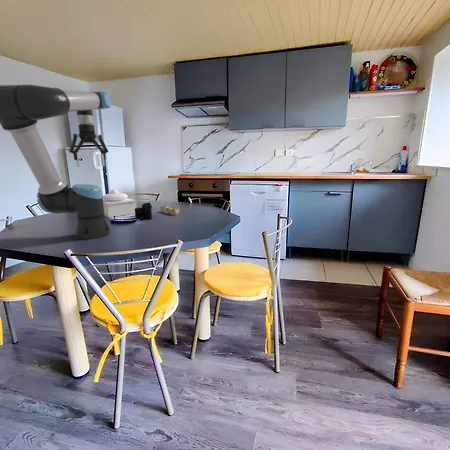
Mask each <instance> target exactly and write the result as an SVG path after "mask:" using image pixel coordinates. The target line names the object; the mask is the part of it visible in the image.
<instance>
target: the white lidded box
mask: <svg viewBox="0 0 450 450" xmlns="http://www.w3.org/2000/svg"><path fill="white" fill-rule="evenodd" d="M128 197H129V196H128V194H126V193H124V192H119V191H118V189H115V188H113V189H111V190H110V193H109V192H108V193H107V194H104V195H103V204H104V214H105V218H108V219H109V218H115V217H114V216H118V215H125V216H129V215H128V214H130V215H135V208H137V205H136V200H135V199H132V198H128ZM118 217H119V216H118Z"/></svg>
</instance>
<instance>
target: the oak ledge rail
mask: <svg viewBox="0 0 450 450" xmlns="http://www.w3.org/2000/svg"><path fill="white" fill-rule="evenodd" d="M160 212H161V213H163V214H164V213H165V214H169V215H172V216H176V217H177V216H180V209H179V208H175V206H173V207H170V206H167V205H165V204H164V205H162V206H160Z"/></svg>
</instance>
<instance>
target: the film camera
mask: <svg viewBox="0 0 450 450" xmlns="http://www.w3.org/2000/svg"><path fill="white" fill-rule="evenodd" d="M152 209H153V206H152V204H151V202H144V203H143V204H141V207H136V208H135V214H134V215H135V217H143V218H142V219H145V220H146V221H151V220H153V215H152V214H153V213H152V212H153V211H152Z"/></svg>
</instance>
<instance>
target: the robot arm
mask: <svg viewBox="0 0 450 450" xmlns="http://www.w3.org/2000/svg"><path fill="white" fill-rule="evenodd" d="M111 106H112V100H111V95H110V94H109V93H108V92H107V91H102V90H101V91H83V90H82V91H79V90H76V91H73V90H62V89H60V88H57V87H49V86H43V85H35V84H8V85H7V84H6V85H4V84H0V126H1V128H2V129H3V130H4V131H7V132H9V133H10V134H11V136H12V138H13V140H14V141H15V144H16V146H17V147H18V149H19V150H20V153H21V154H22V156H23V159H24V160H25V161H26V163H27V165H28V167H29V169H30V171H31V173H32V174H33V176H34V178H35V180H36V181H37V183H38V185H39V186H38V189H37V191H38V192H37V194H36V198H37V200H36V202H37V204H38V206H39V207H40V209H41V210H43V212H45V213H49V214H56V215H57V214H76V226H75V230H74V238H75V239H77V240H95V239H101V238H105V237H108V236H110V235H111V234H112V232H111V228H110V225H109V223H108V221H107V220H106V219H107V218H106V216H105V214H104V204H103V200H104V199H103V196H104V195H103V191H102V188H101V187H99V186H98V185H94V184H87V183H84V184H83V183H80V184H79V183H78V184H77V183H76V184H73V185H72V187H70V186H69V184H68V182H67V181H66V180H65V179H62V178H61V177H60V174H59V172H58V171H57V168H56V166H55V163H54V162H53V160H52V157H51V156H50V154H49V152H48V149H47V148H46V145H45V143H44V141H43V140H42V137H41V134H40V133H39V131H38V129H37V127H36V126H37V124H38V121H40V120H45V119H46V120H47V119H49V118H54V117H59V116H65V115H66V114H68V113H69V112H76V117H77V118H76V119H77V124H78V134H77V133H73V134H72V141H71V145H70V147H69V150H68V152H69V154H70V153H71V154H73V160H74V161H76V167H78V168H80V167H81V162H80V155H79V150H80V149H81V147H82V146H83V144H93V145H94V146H95V147H96V148H97V150H98V151H99V152H100V162H101V164H100V165H101V167H105V163H106V162H105V160H106V154H107V153H109V149H108V148H107V146H106V144H105V142H104V140H103V137H102V135H101V134H96V130H95V125H94V124H95V121H94V115H93V110H105V109H110V108H111ZM78 138H80V140H79V143H78V144H77V141H78ZM96 139H97V140H98V141H97V140H96ZM98 142H99V143H100V144H99V143H98ZM76 144H77V145H76ZM100 145H101V146H100Z"/></svg>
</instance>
